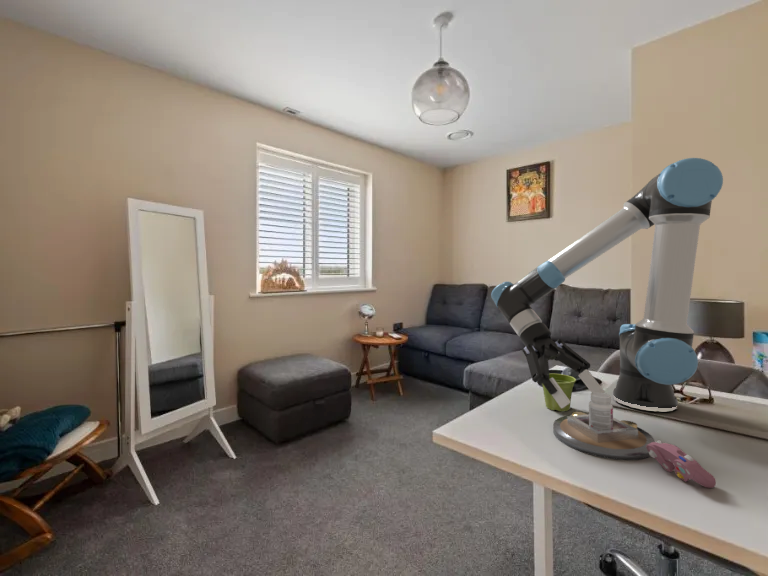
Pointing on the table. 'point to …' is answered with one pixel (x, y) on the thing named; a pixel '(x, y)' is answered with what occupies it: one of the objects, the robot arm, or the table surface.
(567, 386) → the plant pot
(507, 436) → the table surface
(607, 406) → the pill bottle
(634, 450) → the carrier disc
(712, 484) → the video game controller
